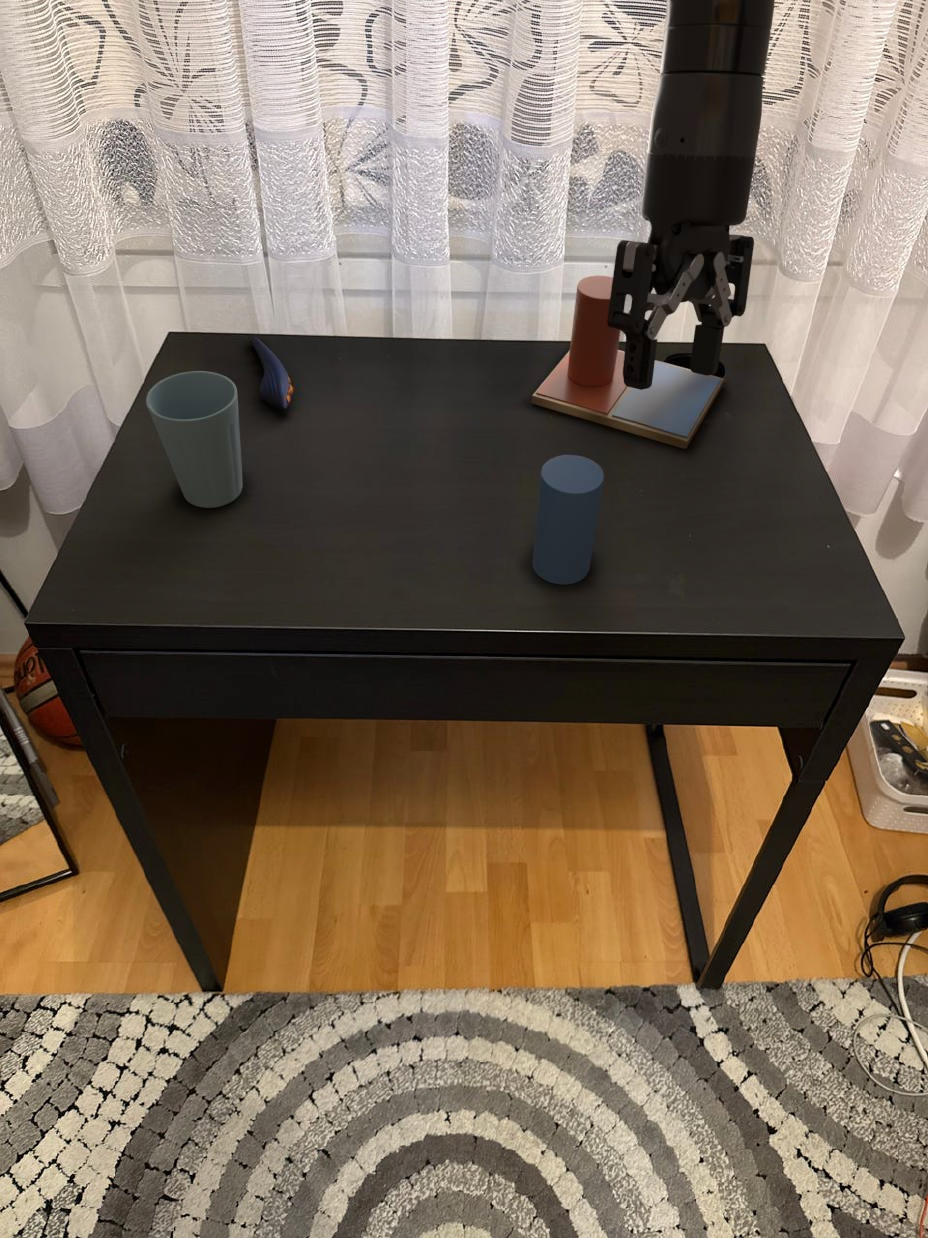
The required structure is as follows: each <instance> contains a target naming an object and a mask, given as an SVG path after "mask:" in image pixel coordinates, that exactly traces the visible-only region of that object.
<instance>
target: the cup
mask: <svg viewBox="0 0 928 1238" xmlns="http://www.w3.org/2000/svg"><path fill="white" fill-rule="evenodd" d="M238 397H239V396H238V389H237V386H236V384H235V383H234V381H233V380H231V379H230V378H229V377H227V376H225V375H223V374H220V373H217V372H213V371H205V370H192V371H184V372H180V373H176V374H173V375H169V376H168V377H165V378H163V379H161V380H159V381H158V382H156V383H155V384H154V385H153V386H152V387H151V388H150V389H149V390H148V392H147V394H146V397H145V404H146V407H147V410H148V412H149V415H150V417H151V420H152V422H153V424H154V427H155V429H156V431H157V433H158V436H159V438H160V441H161V443H162V446H163V448H164V451H165V453H166V456H167V458H168V461H169V464H170V466H171V468H172V470H173V473H174V476H175V478H176V480H177V483H178V485H179V487H180V490H181V493H182V495H183V497H184V499H185V500H186V501H187V502H188V503H189V504H191V505H193V506H195V507H198V508H205V509H212V508H213V509H214V508H220V507H223V506H225V505H228V504H230V503H232V502H233V501H235V500H236V499H237V498H238V497H239V496H240V495H241V494H242V490H243V487H244V486H243V483H244V482H243V466H242V465H243V464H242V450H241V449H242V448H241V433H240V431H241V430H240V416H239V400H238V399H239V398H238Z"/></svg>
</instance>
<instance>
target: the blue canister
mask: <svg viewBox="0 0 928 1238" xmlns="http://www.w3.org/2000/svg"><path fill="white" fill-rule="evenodd" d="M604 480H605V473H604V470H603V469H602V467H601V466H600V465H599V464H598V463H596V462H595V461H594V460H593V459H590V458H588V457H586V456H581V455H578V454H562V455H558V456H555V457H553V458H552V457H551V458H550V459H548V460H547V461H546V462H545V463H544V464H543V465H542V468H541V471H540V481H539V490H538V491H539V492H538V502H537V511H536V522H535V532H534V543H533V553H532V562H531V564H532V568H533V571H534V572H535V574H536V575H537V576H538V577H540V579H542V580H544V581H545V582H548V583H550V584H553V585H554V584H555V585H573V584H576V583H578V582H581V581H582V580H584V579H585V578H586V576H587V575H588V574H589V572H590V569H591V568H590V567H591V561H592V555H593V550H594V543H595V537H596V531H597V524H598V518H599V511H600V505H601V499H602V493H603V487H604Z"/></svg>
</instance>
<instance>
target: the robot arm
mask: <svg viewBox="0 0 928 1238" xmlns="http://www.w3.org/2000/svg"><path fill="white" fill-rule="evenodd" d="M665 1H666V2H665V3H666V11H665V12H666V13H665V21H664V32H663V40H662V49H661V58H660V68H659V74H660V75H659V76H658V82H657V87H656V92H655V95H654V100H653V104H652V108H651V116H650V117H651V118H650V123H649V124H650V125H649V133H648V143H647V152H646V160H645V161H646V162H645V172H644V181H643V189H642V190H643V191H642V198H641V199H642V200H641V209H640V214H641V218H643V219H644V220H645V221H648V223H650V232H649V236H648V239H647V241H646V242H643V241H634V240H627V239H622V240H620V241H619V242H618V244H617V247H616V250H615V251H616V252H615V260H614V266H613V267H614V268H613V273H612V274H613V275H612V277H613V281H612V289H611V296H610V303H609V311H608V318H607V323H608V326H609V327H611V328H616V329H618V330H620V331H621V332H622V333H623V334H624V336H625V346H624V352H625V355H624V359H625V360H624V366H623V380H624V384H625V385H626V386H628V387H632V388H636V389H640V390H643V389H648V388H650V387H651V385H652V380H653V372H654V364H655V360H656V355H657V345H658V339H657V338H656V337H657V335H658V334H659V332H660V330H661V328H662V326H663V325H664V322H665V321H666V319H667V317H668V316H669V315H673V314H674V313H675V312H676V311H677V310H678V308H679V306H680V304H681V303H686V302H690V303H691V304H692V306H693V309H694V312H695V315H696V318H697V322H698V323H700V324H695V326H694V334H693V341H692V346H691V347H692V348H691V353H690V354H691V355H690V362H689V369H690V370H691V371H692V372H694V373H698V374H702V375H707V376H708V375H712V376H714V375H715V374H716V373H717V372H718V368H719V362H720V358H721V352H722V346H723V341H724V340H723V339H724V332H725V328H726V327H729V325H730V324H731V322H732V319H733V318H734V317H742V316H743V315H744V314H745V312H746V308H747V300H748V293H749V286H750V277H751V271H752V270H751V269H752V263H753V256H754V255H753V254H754V248H755V239H754V237H753V236H749V235H743V234H736V233H735V234H733V233H732V234H730V228H731V227H732V226H738V225H741V224H743V222H745V220H746V219H747V214H748V207H749V200H750V195H751V187H752V181H753V174H754V168H755V163H756V162H755V161H756V155H757V149H758V142H759V136H760V130H761V123H762V115H763V89H764V80H765V79H764V76H765V73H766V68H767V67H766V66H767V59H768V53H769V47H770V40H771V34H772V28H773V20H774V11H775V0H665ZM730 284H733V286H734V293H733V298H730V296H731V295H732V291H731V287H730ZM653 290H654V291H655V292H654V293H653ZM627 295H629V296H630V297H631V301H630V302H631V303H630V309H629V311H628V312H625V306H626V301H625V300H627ZM649 311H651V313H650V314H649V317H648V318H647V319H646V313H647V312H649Z"/></svg>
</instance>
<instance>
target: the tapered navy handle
mask: <svg viewBox="0 0 928 1238" xmlns="http://www.w3.org/2000/svg"><path fill="white" fill-rule="evenodd" d="M250 344H251V346H252V348H253V349H254V351H255V353H256V354H257V356H258V359H259V360H260V362H261V366H262V369H263V378H262V380H261V382H260V385H259V395H260V398H261V399H262V400H263V401H265V402H266V403H267V404H269V405H270V406H272V407H274V408H277V409H279V410H284V411H285V410H286V409H287V408H288V406H289V405H290V404H291V400H292V396H293V395H292V394H293V393H294V387H293V386H292V381H291V378H290V377H289V374H288V372H287V370H286V368H285V367H284V365H283V363H282V362H281V360H280V359H279V358H278V356H276V355H275V353H274V352H273V351H272V350H271V349H270V348H269V347H268V346H267V345H266V344H265V343H264V342H262V341H261V339H260V338H258V337H255V336H253V337H252V338H251V339H250Z"/></svg>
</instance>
